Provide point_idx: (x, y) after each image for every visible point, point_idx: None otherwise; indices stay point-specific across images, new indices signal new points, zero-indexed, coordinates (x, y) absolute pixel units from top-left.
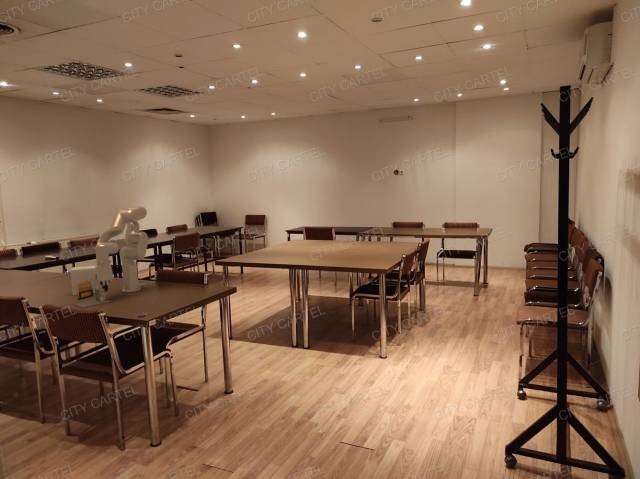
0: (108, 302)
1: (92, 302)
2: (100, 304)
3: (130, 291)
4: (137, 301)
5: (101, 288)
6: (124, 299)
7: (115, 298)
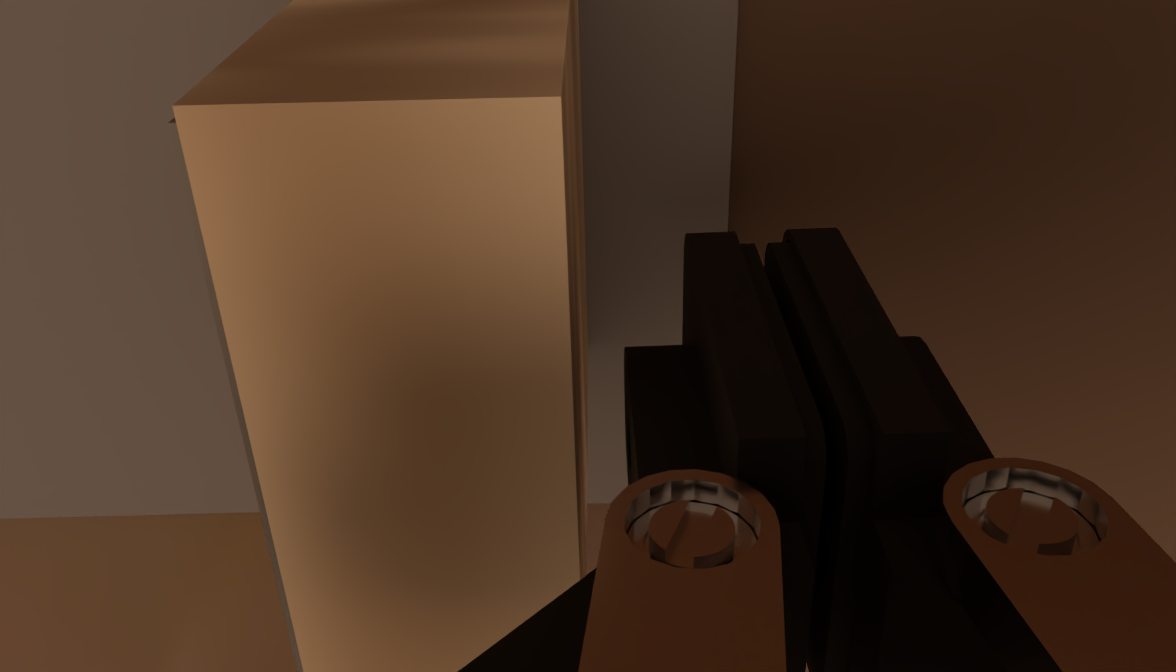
0: (602, 489)
1: (168, 157)
2: None
3: None
4: None
5: (529, 506)
6: (1120, 475)
7: (1100, 90)
